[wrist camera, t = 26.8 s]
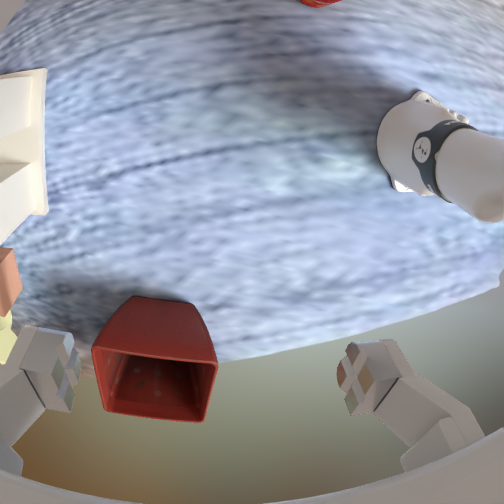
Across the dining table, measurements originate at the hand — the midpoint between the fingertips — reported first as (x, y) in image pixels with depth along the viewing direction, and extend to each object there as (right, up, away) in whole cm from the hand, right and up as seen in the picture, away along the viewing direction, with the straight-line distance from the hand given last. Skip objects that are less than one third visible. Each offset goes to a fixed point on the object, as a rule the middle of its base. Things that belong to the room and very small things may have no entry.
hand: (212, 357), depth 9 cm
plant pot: (-17, -11, +52) cm, 56 cm away
